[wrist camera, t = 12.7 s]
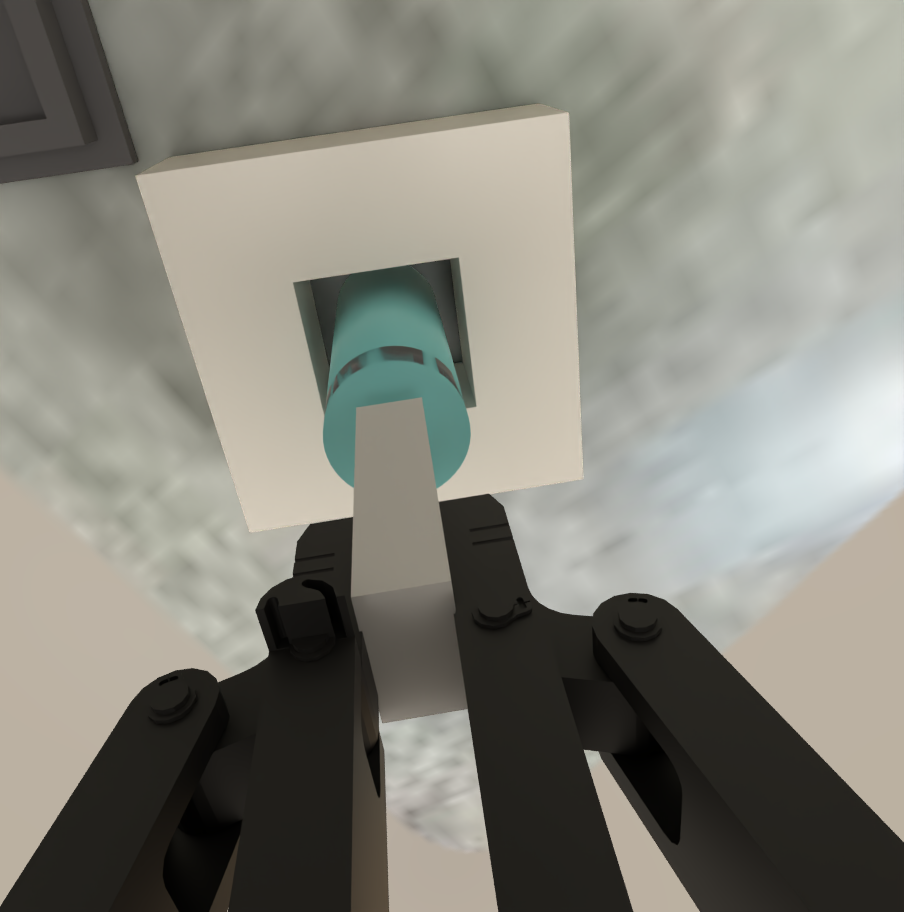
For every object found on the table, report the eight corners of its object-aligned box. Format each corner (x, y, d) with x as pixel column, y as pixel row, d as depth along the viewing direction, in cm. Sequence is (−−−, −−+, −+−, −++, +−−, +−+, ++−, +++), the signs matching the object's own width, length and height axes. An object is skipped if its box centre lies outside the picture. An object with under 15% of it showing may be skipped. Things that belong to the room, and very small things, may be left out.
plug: (327, 268, 25) (307, 381, 17) (428, 252, 26) (461, 357, 17) (347, 363, 27) (339, 510, 19) (442, 348, 27) (477, 487, 19)
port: (169, 157, 23) (134, 175, 20) (538, 103, 24) (569, 112, 20) (263, 475, 29) (249, 533, 26) (557, 428, 30) (583, 479, 26)
